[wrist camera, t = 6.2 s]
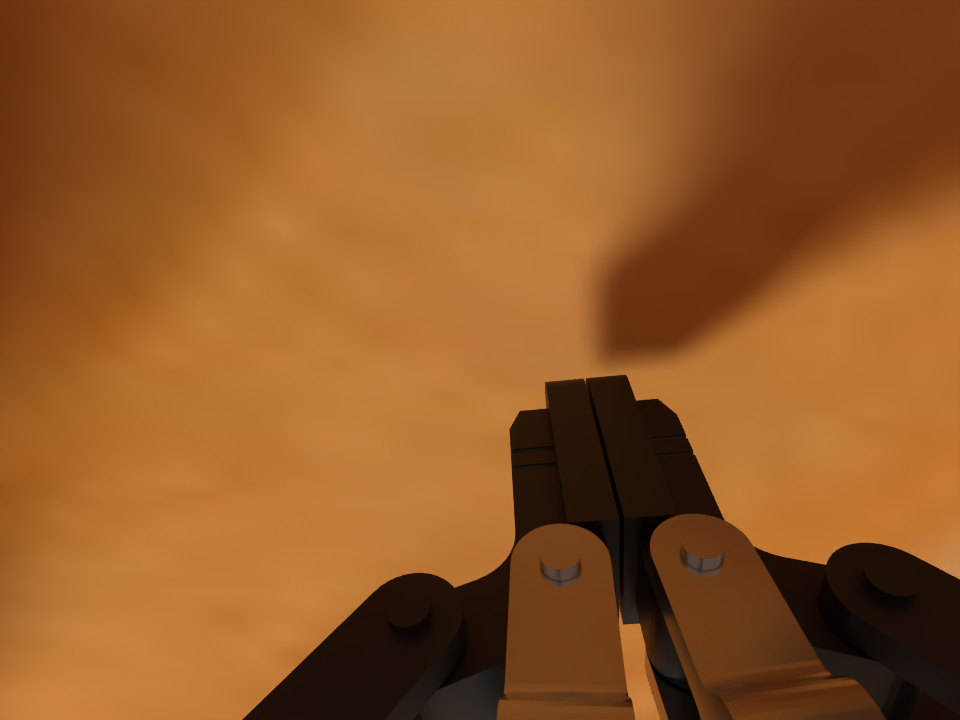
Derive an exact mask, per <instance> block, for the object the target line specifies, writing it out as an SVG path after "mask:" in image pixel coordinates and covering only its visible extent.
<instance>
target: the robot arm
mask: <svg viewBox="0 0 960 720" xmlns="http://www.w3.org/2000/svg"><path fill="white" fill-rule="evenodd" d="M545 395H546V409H538V410H527V411H520V412H519V414H518V415H517V417H516V419H515V421H514V422H513V424H512V426H511V428H510V445H511V462H512V480H513V497H514V515H515V542H514V546H513V548H512V551H511V553H510V554H509V556H508V557H507V559H506V560H505V561H504V562H503V563H502V564H501V565H500V566H499V567H498V568H497V569H496V570H494V571H493V572H491V573H490V574H488V575H486V576H484V577H482V578H480V579H477V580H475V581H472V582H469V583H467V584H464V585H461V586H459V587H456V588H454V587H453V586H452V585H451V584H450V583H449V582H447V581H446V580H445V579H443V578H440V577H438V576H435V575H432V574H426V573H412V574H406V575H403V576H399V577H396V578H394V579H392V580H390V581H388V582H386V583H385V584H383V585H382V586H380V587H379V588H378V589H377V590H376V591H375V592H373V593H372V594H371V595H370V596H369V597H368V598H367V599H366V600H365V601H364V602H363V603H362V604H361V605H360V606H359V607H358V608H357V609H356V610H355V611H354V612H353V613H352V614H351V615H350V616H349V617H348V618H347V619H346V620H345V621H344V622H343V623H342V624H341V625H339V626H338V627H337V628H336V629H335V630H334V631H333V632H332V633H331V634H330V635H329V636H328V637H327V638H326V639H325V640H324V641H323V642H322V643H321V644H320V645H319V646H318V647H317V648H316V649H315V650H314V651H313V652H312V653H311V654H310V655H309V656H308V657H307V658H305V659H304V660H303V661H302V662H301V663H300V664H299V665H298V666H297V667H296V668H295V669H294V670H293V671H292V672H291V673H290V674H289V675H288V676H287V677H286V678H285V679H284V680H283V681H282V682H281V683H280V684H279V685H278V686H277V687H276V688H275V689H274V690H273V691H271V692H270V693H269V694H268V695H267V696H266V697H265V698H264V699H263V700H262V701H261V702H260V703H259V704H258V705H257V706H256V707H255V708H254V709H253V710H252V711H251V712H250V713H249V714H248V715H247V716H246V717H245V718H244V719H243V720H635V714H634V709H633V704H632V700H631V698H629V696H628V692H627V685H626V678H625V670H624V662H623V654H622V646H621V638H620V630H619V608H620V612H621V617H622V621H623V624H638V623H640V625H641V629H642V633H643V638H644V642H645V671H646V675H647V678H648V682H649V685H650V688H651V691H652V694H653V697H654V701H655V704H656V707H657V710H658V713H659V716H660V720H960V579H958V578H956V577H954V576H952V575H950V574H948V573H946V572H944V571H942V570H940V569H938V568H937V567H935V566H933V565H931V564H929V563H927V562H925V561H923V560H921V559H919V558H917V557H915V556H913V555H911V554H909V553H907V552H905V551H902V550H900V549H897V548H894V547H890V546H886V545H882V544H875V543H856V544H850V545H847V546H844V547H842V548H840V549H838V550H837V551H835V552H834V553H833V554H832V555H831V556H830V558H829V559H828V562H827V565H824V564H818V563H813V562H808V561H802V560H797V559H791V558H786V557H781V556H777V555H773V554H770V553H768V552H765V551H762V550H760V549H758V548H756V547H754V546H753V545H752V543H751V542H750V540H749V539H748V538H747V537H746V535H745V534H744V533H743V532H742V531H740V530H739V529H738V528H736V527H735V526H733V525H732V524H730V523H728V522H726V521H725V520H724V518H723V516H722V514H721V512H720V510H719V507H718V505H717V503H716V501H715V499H714V496H713V494H712V492H711V490H710V487H709V485H708V483H707V481H706V478H705V476H704V474H703V472H702V470H701V467H700V465H699V463H698V461H697V458H696V456H695V455H694V454H693V449H692V447H691V445H690V443H689V441H688V438H687V439H686V434H685V432H684V429H683V427H682V425H681V423H680V420H679V418H678V416H677V414H675V413H674V412H673V411H672V410H671V409H669V408H668V407H667V406H666V405H665V404H663V403H662V402H661V401H660V400H659V399H650V400H639V401H636V399H635V397H634V394H633V391H632V388H631V386H630V383H629V380H628V378H627V376H626V375H617V376H606V377H595V378H586V384H585V381H584V379H574V380H563V381H552V382H545Z"/></svg>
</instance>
